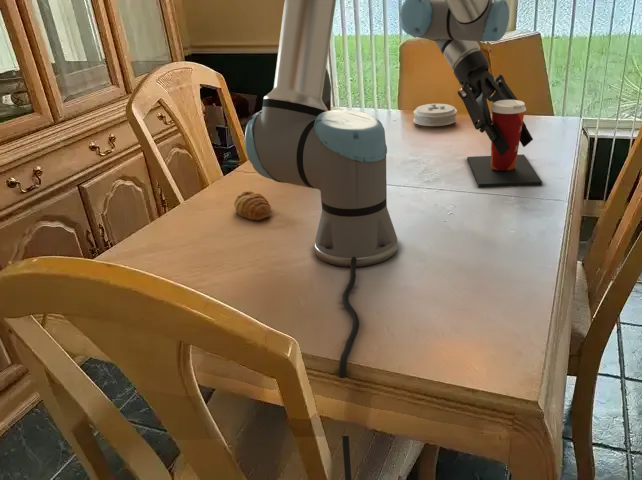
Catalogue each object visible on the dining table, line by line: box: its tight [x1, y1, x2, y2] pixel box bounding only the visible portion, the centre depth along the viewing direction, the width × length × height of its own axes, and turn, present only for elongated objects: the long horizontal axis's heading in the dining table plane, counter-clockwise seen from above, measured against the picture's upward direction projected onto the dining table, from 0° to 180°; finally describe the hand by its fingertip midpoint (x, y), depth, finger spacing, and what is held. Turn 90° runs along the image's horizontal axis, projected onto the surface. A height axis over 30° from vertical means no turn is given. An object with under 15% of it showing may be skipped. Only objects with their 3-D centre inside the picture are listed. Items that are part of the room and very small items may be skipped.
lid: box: [413, 103, 458, 127], centre depth 180 cm, size 13×13×5 cm
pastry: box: [233, 190, 273, 221], centre depth 130 cm, size 9×7×4 cm
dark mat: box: [466, 153, 543, 189], centre depth 145 cm, size 20×14×1 cm
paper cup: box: [490, 99, 527, 171], centre depth 141 cm, size 8×8×14 cm
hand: (516, 147), depth 140 cm, fingers closed on paper cup, 8 cm apart
